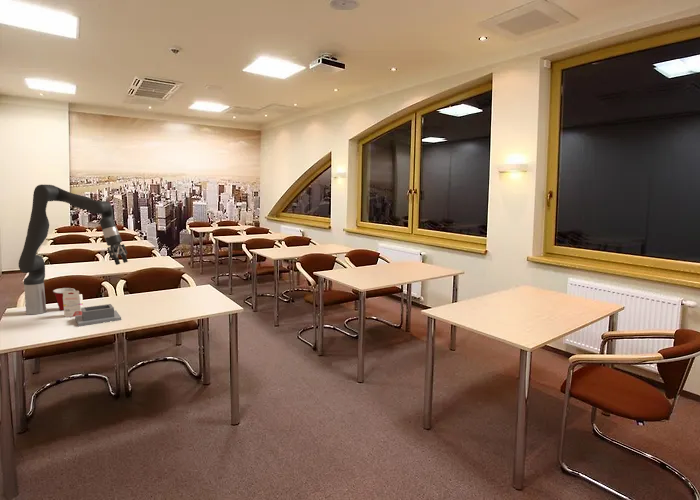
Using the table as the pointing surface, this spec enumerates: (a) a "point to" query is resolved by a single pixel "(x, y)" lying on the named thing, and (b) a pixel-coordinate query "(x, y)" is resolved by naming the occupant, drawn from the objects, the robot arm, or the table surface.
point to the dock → (97, 315)
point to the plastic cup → (61, 296)
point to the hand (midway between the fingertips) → (122, 263)
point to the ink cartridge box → (72, 303)
